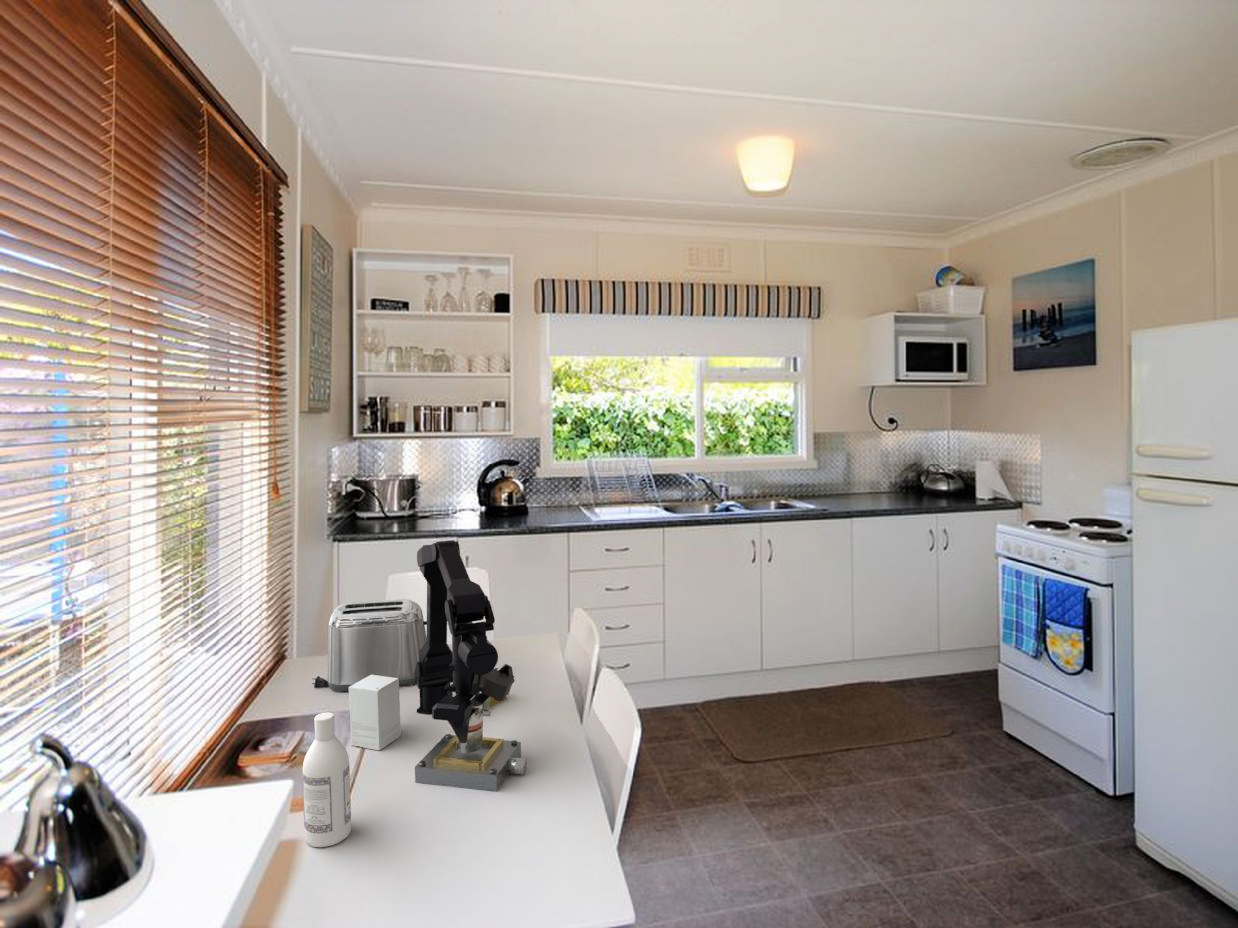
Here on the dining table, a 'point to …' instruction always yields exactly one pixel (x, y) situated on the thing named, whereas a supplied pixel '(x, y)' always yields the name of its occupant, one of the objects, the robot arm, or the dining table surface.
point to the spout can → (474, 730)
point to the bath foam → (326, 786)
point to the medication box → (491, 702)
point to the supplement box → (374, 712)
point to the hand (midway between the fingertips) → (469, 736)
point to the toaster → (373, 642)
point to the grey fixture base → (471, 764)
